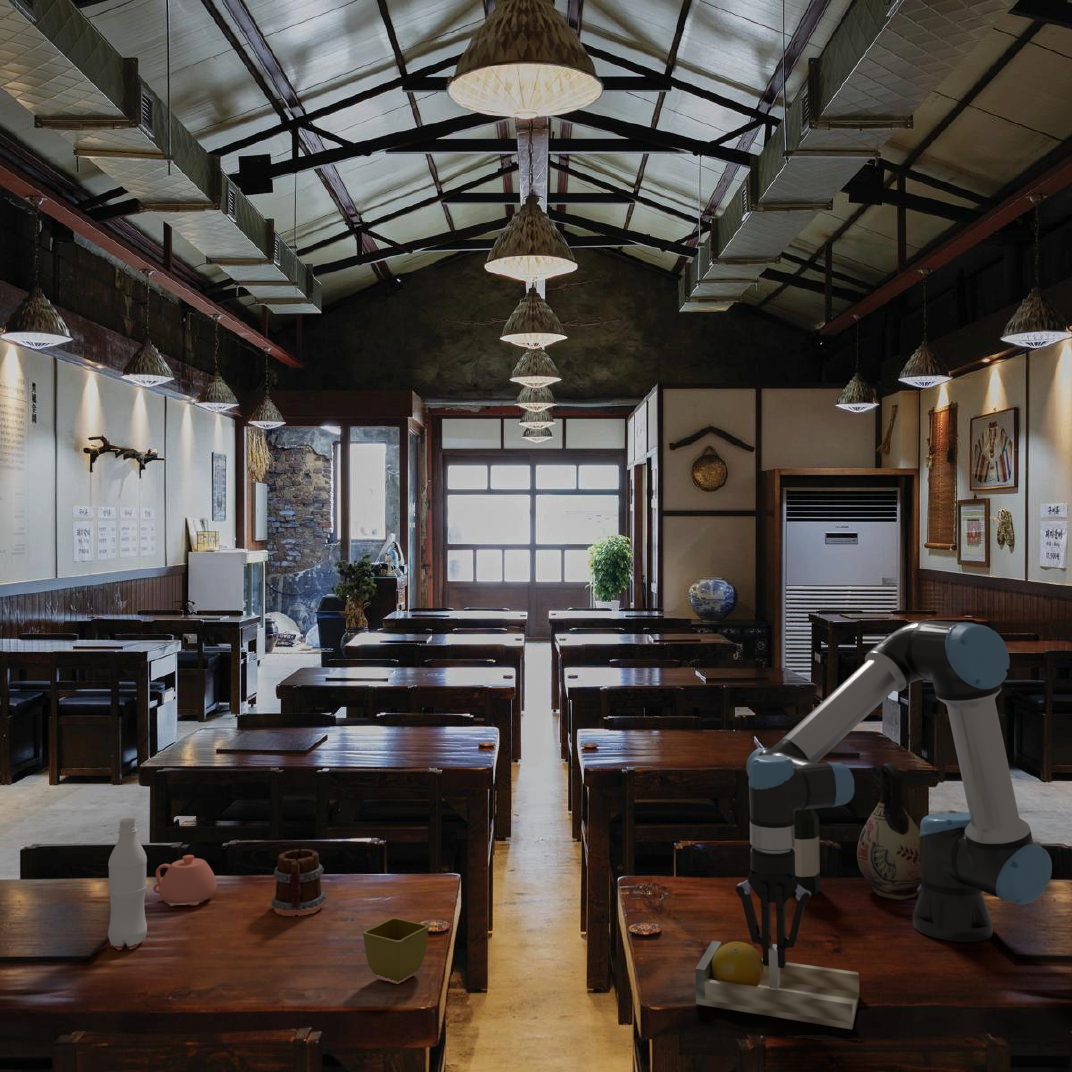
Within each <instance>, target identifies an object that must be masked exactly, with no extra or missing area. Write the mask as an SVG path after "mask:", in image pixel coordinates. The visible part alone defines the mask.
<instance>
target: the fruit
mask: <svg viewBox="0 0 1072 1072" xmlns="http://www.w3.org/2000/svg"><path fill="white" fill-rule="evenodd" d="M762 959H763V957H762V956H761V954H760V953H759V952H758V950H757V949H756V948H755V947H754V946H753V945H751V944H749V943H746V942H744V941H743V942H742V941H730V942H727V943H725V944H723V945H721V947H720V948H719V949H718V950H717V951H716V953H715V954H714V957H713V960H712V972H713V976H714V978H715V980H716V981H723V982H729V983H736V984H742V985H749V986H755V987H757V986H758V985H759V984H760V981H761V978H762V975H763V961H762Z"/></svg>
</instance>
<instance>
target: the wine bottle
mask: <svg viewBox="0 0 1072 1072" xmlns="http://www.w3.org/2000/svg"><path fill="white" fill-rule="evenodd" d="M819 820H820V819H819V814H817V812H816V810H815V809H805V810H796V811H795V814H794V835H795V846H794V847H793V848H792V849H793V850H794V851H795V875H796V877H797V879H798V882H799V885H800V886H801V887H803V888H804V889H805V890H807V889H808V890H810V891H811V893H812V894H811V896H814V895H817V894H818V893H819V892H820V891H821V886H820V885H821V882H820V878H821V877H820V876H821V875H820V825H819V824H820V821H819ZM796 894H797V893H796V891H794V893H793V894H792V895H796Z"/></svg>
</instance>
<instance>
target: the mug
mask: <svg viewBox="0 0 1072 1072" xmlns="http://www.w3.org/2000/svg"><path fill="white" fill-rule="evenodd" d="M319 856H320V855H319V853H318V851H317V850H316V851H315V850H313V849H307V848H303V849H302V848H301V849H300V850H299V849H292V850H288V851H283V852H282V853H280V854H279V855H278V856H277V866H276V867H275V868H274V872H273V878H274V879H275V880H276V884H275V894H273V896H272V898H271V902H270V905H271V907H272V906H273V907H274V908H278V909H282V910H301V909H306V908H313V907H315V906H318V905H319V904H321V903H322V902H323V901H324V899H325V900H327V895H325V892H324V891H323V890H322V886H321V884H322V883H321V877H322V875H323V873H324V872H325V871H324V869H325V868H324V867H323V865H322V864H321V863H320V857H319ZM273 907H272V908H273ZM274 908H273V909H274Z"/></svg>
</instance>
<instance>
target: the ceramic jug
mask: <svg viewBox="0 0 1072 1072" xmlns="http://www.w3.org/2000/svg"><path fill="white" fill-rule="evenodd" d="M899 769H900V768H898V766H896V765H895V764H894V763H891V762H886V763H884V764H882V765H881V768H880V767H879V766H878V765H874V766H873V767H872V768H871V775H872V777H874V778H875V779H876V780H878V781H879V784H880V788H881V791H880V799H879V802H878V803H877V805H876V807H875V808H874V810H873V811H872V812H871V813H870V816H869V818H868V819H867V821H866V823H865V824H864V826H863V828H862V830H861V832H860V835H859V840H858V842H857V843H858V844H857V850H856V856H857V857H856V859H857V864H858V867H859V871H860V873H861V874H862V875H863V876H864V878H865V879H866V881H868V883H869V885H870V886H871V888H872V889H873V892H874V893H875V894H876V895H878V896H880V897H883V898H887V899H893V900H899V901H901V900H907V899H910V898H914V897H916V896H918V889H919V887H921V865H920V837H919V834H920V828H918V827H917V825H916V824H915V822H914V821H913V819H912V817H911V816H910V815H909V814H908V812H907V810H906V809H905V808H904V807H903V784H902V783H903V781H902V775H901V771H900V770H899Z"/></svg>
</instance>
